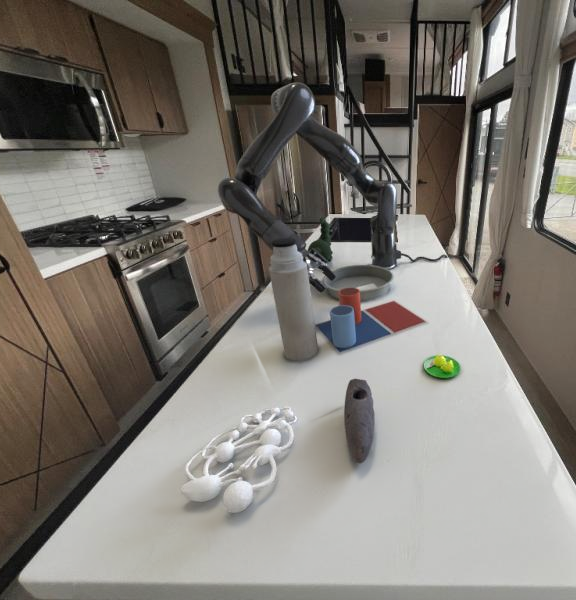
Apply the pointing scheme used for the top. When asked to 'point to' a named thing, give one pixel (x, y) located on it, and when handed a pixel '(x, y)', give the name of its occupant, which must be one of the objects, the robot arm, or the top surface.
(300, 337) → the thermos bottle
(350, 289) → the red tumbler
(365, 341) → the blue mat
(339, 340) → the blue tumbler
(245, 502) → the tangled rod sculpture
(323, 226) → the toy figurine
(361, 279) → the cake pan
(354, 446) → the perforated stone tool
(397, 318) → the red mat
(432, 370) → the green plate with lumps
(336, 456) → the top surface
